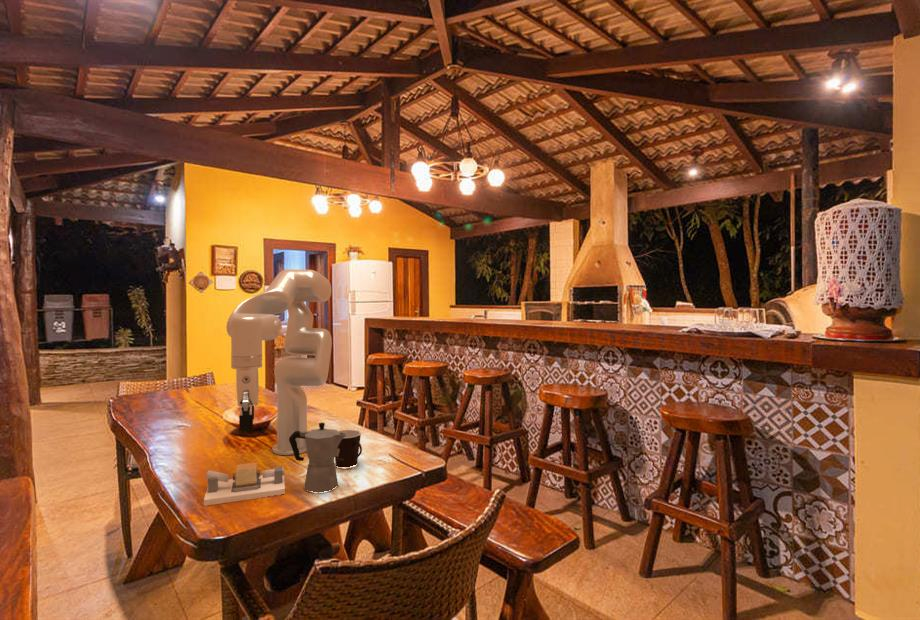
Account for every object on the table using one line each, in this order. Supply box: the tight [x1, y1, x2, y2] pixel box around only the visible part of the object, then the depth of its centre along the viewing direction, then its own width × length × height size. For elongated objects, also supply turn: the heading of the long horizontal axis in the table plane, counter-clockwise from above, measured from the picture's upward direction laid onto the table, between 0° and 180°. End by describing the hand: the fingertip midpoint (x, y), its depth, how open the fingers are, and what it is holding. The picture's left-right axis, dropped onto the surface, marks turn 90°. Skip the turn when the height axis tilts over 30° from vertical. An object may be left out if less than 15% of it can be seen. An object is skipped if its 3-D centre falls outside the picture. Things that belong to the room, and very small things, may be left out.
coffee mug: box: [334, 429, 363, 467], centre depth 142 cm, size 12×9×10 cm
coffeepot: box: [289, 422, 346, 492], centre depth 127 cm, size 15×9×18 cm, turn 93°
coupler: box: [232, 462, 261, 488], centre depth 124 cm, size 7×4×5 cm
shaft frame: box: [203, 465, 286, 507], centre depth 124 cm, size 19×12×7 cm, turn 113°
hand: (246, 424), depth 124 cm, fingers open, 9 cm apart
